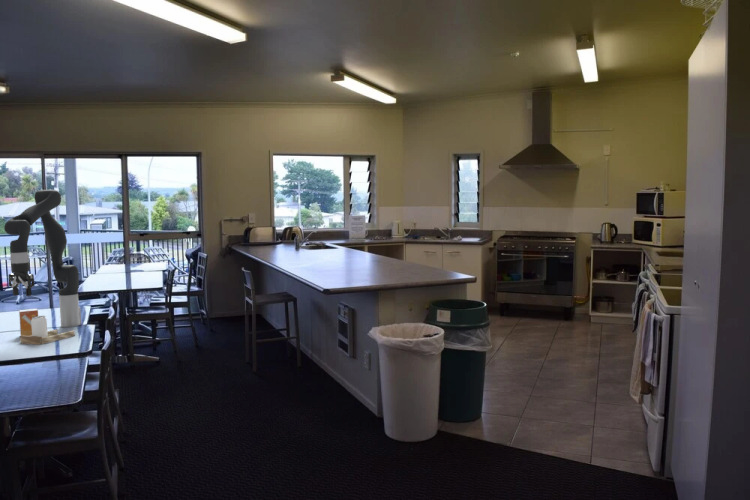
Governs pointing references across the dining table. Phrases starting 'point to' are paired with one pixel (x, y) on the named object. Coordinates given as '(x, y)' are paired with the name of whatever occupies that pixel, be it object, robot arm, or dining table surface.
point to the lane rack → (51, 337)
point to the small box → (26, 321)
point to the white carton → (39, 326)
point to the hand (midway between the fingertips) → (22, 295)
